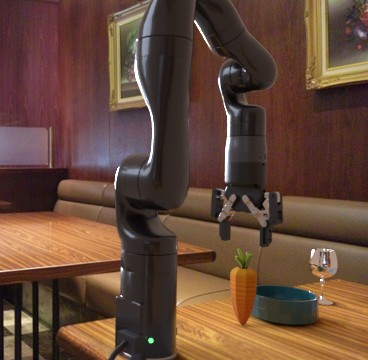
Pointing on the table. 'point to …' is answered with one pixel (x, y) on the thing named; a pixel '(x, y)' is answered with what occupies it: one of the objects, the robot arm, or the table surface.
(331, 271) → the wineglass
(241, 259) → the carrot
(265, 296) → the bowl
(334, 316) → the table surface
